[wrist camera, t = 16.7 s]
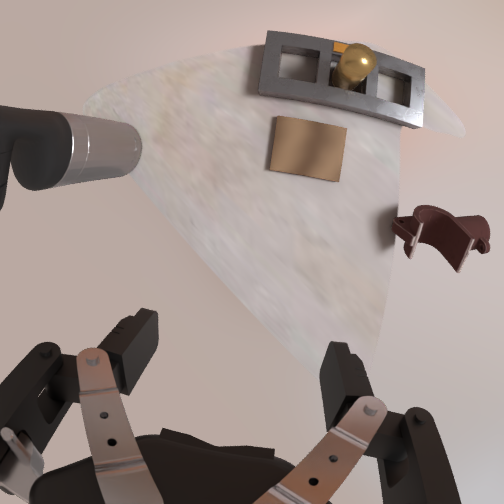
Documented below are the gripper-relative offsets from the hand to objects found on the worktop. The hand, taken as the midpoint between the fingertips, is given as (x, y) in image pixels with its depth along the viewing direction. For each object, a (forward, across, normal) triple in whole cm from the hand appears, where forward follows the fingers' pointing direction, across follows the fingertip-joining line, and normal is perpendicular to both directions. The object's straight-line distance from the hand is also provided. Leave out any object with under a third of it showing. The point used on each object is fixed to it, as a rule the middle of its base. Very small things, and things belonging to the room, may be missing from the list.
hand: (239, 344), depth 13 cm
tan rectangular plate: (+32, -4, -11) cm, 34 cm away
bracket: (+31, -28, -3) cm, 42 cm away
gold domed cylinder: (+32, -8, -23) cm, 40 cm away
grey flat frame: (+32, -8, -23) cm, 40 cm away
